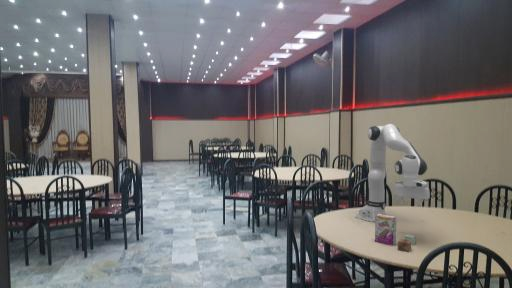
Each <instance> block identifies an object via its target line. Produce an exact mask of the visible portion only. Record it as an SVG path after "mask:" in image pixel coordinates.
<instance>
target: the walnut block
mask: <svg viewBox="0 0 512 288" xmlns="http://www.w3.org/2000/svg"><path fill="white" fill-rule="evenodd" d="M411 249H412V245H411V240H406V239H404V238H399V239H398V241H397V251H400V252H407V253H410V251H412V250H411Z"/></svg>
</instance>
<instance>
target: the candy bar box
mask: <svg viewBox="0 0 512 288" xmlns="http://www.w3.org/2000/svg"><path fill="white" fill-rule="evenodd" d="M374 226H375V228H374V229H375V230H374V231H375V232H374V235H375V237H374V242H378V243H381V244H386V245H390V246H394V245H395V244H396V243H397V216H392V215H386V214H385V215H382V214H377V215H376V222H375V225H374Z"/></svg>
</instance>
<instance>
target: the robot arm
mask: <svg viewBox="0 0 512 288" xmlns="http://www.w3.org/2000/svg"><path fill="white" fill-rule="evenodd" d="M367 137H368V139H369V140H370V141H371V142H370V151H369V152H370V153H369V162H370V170H369V172H368V175H367V179H368V200H366V201H365V203H366V204H365V205H364V206H363V207H361V208H359V210H358V214H355V218H356V219H360V220H364V221H367V222H371V223H373V222H376V215H377V214H382V215H386V201H385V198H386V195H385V193H386V192H385V178H386V176H387V175H386V174H387V170H386V169H387V168H386V167H387V163H386V162H387V160H386V159H387V158H386V157H387V149H390V150H392V151H397V152H401V153H404V154H406V155H404V156H403V157H402V159H399V160H396V162H395V164H394V171H395V173H396V174H397V175H399V176H402V181H397V180H396V181H394V183H393V188H394V189H393V195H394V197H399V200H400V201H401V205H406V200H404V198H407V199H408V198H409V199H417V200H419V202H418V203H417V207H422V203H423V202H424V200H426V201H427V200H429V199H430V198H431V193H430V188H429V187H428V182H427V181H425V180H422V179H420V176H423V175H424V174H425V173H426V172H427V170H428V166H427V165H428V164H427V163H426V161H425V160H424V159H423V157H421V156H420V154H419V153H418V152H417V150H416V149H415V147H414V146H413V144H412V143H411V142H409V141H407V140H406V139H405V138H404V137H403V136H402V134H401V132H400V129H399V127H397V126H396V125H395V124H392V123H387V124H385V125H377V126H376V125H374V126H373V125H372V126H370V127H369V128H368V130H367Z"/></svg>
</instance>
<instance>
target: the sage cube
mask: <svg viewBox="0 0 512 288" xmlns="http://www.w3.org/2000/svg"><path fill="white" fill-rule="evenodd" d="M403 239H406V240H411V246H412V245H414V244H416V235H413V234H409V233H406V234H405V235H404V238H403Z"/></svg>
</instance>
